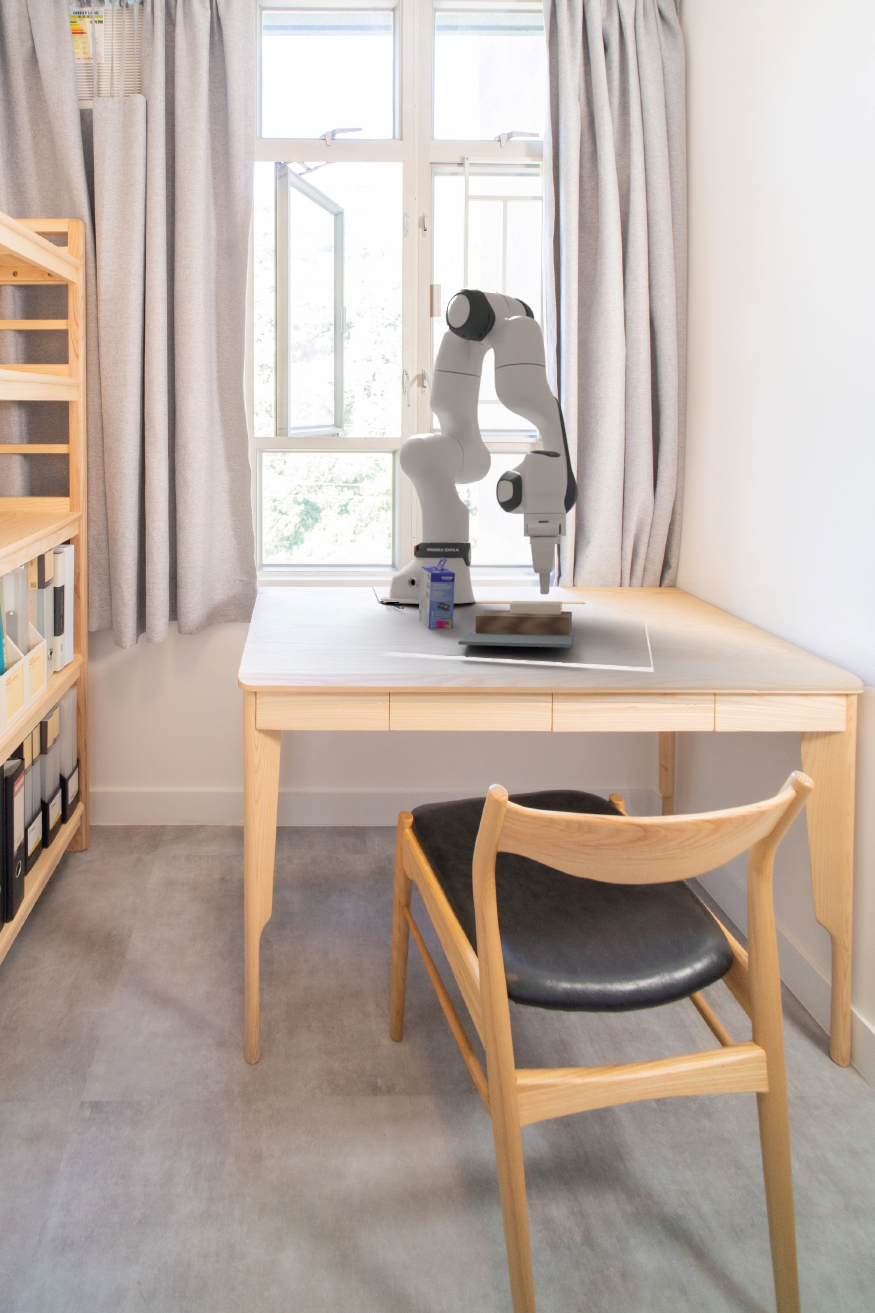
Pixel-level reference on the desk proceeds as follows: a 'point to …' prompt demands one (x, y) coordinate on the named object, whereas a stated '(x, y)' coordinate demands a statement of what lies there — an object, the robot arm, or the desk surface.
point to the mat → (517, 640)
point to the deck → (523, 623)
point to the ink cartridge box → (436, 596)
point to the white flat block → (535, 607)
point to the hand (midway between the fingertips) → (544, 594)
